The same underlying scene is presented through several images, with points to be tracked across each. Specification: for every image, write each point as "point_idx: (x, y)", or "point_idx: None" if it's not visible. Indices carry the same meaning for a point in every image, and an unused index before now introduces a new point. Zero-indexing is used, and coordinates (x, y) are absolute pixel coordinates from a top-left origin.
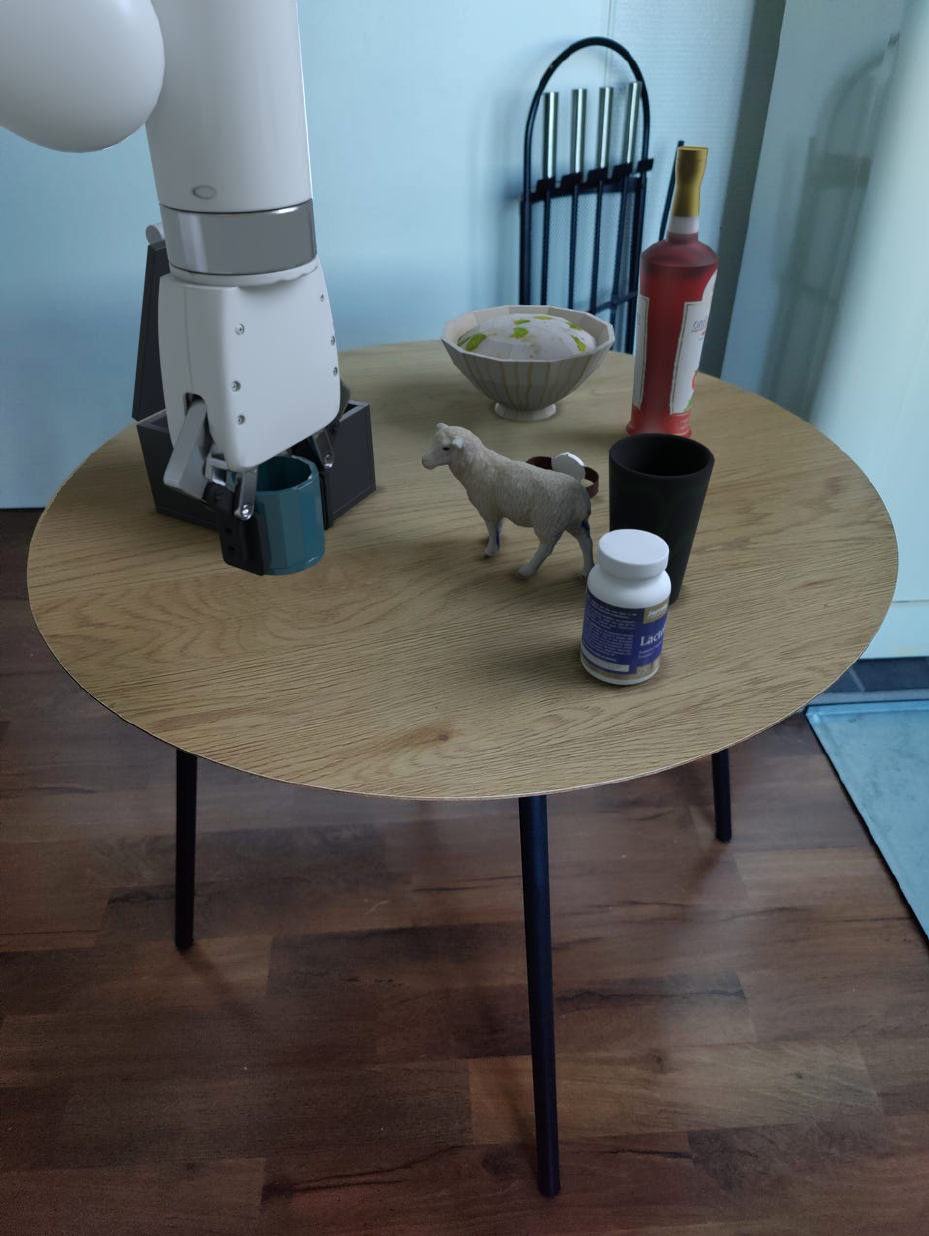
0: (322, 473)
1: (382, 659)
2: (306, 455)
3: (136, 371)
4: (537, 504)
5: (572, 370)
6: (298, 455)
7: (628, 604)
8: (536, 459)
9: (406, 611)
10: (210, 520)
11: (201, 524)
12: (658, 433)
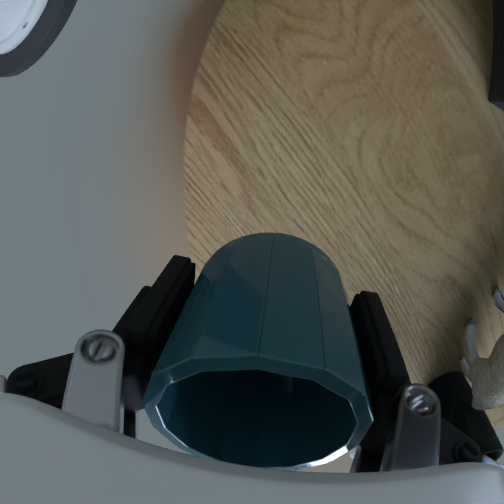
0: None
1: (350, 257)
2: (375, 439)
3: None
4: (490, 380)
5: None
6: (381, 426)
7: (348, 451)
8: None
9: (423, 253)
10: (499, 10)
11: (494, 1)
12: (499, 457)
